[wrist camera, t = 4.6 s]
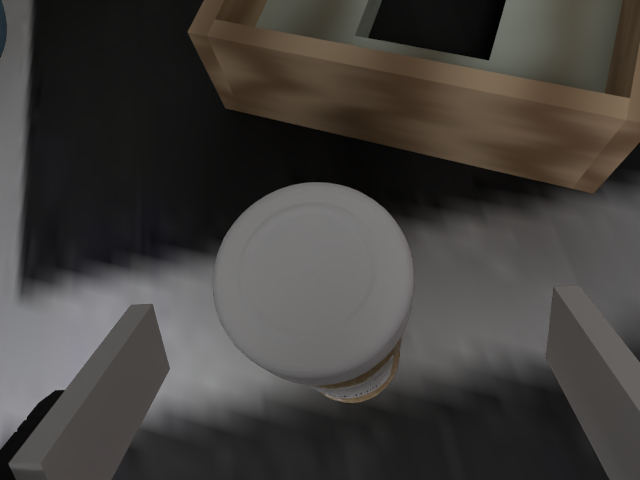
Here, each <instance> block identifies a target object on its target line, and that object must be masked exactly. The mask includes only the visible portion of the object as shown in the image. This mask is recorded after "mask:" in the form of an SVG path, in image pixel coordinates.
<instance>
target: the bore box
mask: <svg viewBox="0 0 640 480" xmlns="http://www.w3.org/2000/svg"><path fill="white" fill-rule="evenodd" d="M381 2H382V0H204V1H203V3H202V5H201V7H200V9H199V11H198V13H197V15H196V17H195V19H194V21H193V23H192V25H191V27H190V28H189V30H188V34H189V36H190V38H191V40H192V42H193V44H194V46H195V48H196V50H197V52H198V54H199V56H200V58H201V60H202V62H203V64H204V66H205V68H206V70H207V72H208V74H209V76H210V78H211V80H212V82H213V84H214V86H215V88H216V90H217V92H218V94H219V96H220V98H221V100H222V102H223V104H224V106H225V108H226V109H231V110H235V111H239V112H244V113H248V114H252V115H257V116H261V117H265V118H270V119H274V120H278V121H282V122H287V123H291V124H295V125H300V126H304V127H308V128H313V129H317V130H321V131H326V132H330V133H334V134H339V135H343V136H347V137H351V138H356V139H360V140H364V141H369V142H373V143H377V144H382V145H386V146H390V147H395V148H399V149H403V150H408V151H412V152H416V153H420V154H425V155H429V156H433V157H438V158H442V159H446V160H451V161H455V162H459V163H464V164H468V165H472V166H476V167H481V168H485V169H489V170H494V171H498V172H502V173H507V174H511V175H515V176H520V177H524V178H528V179H533V180H537V181H541V182H545V183H550V184H554V185H558V186H563V187H567V188H571V189H576V190H580V191H584V192H589V193H594V192H595V191H596V190H597V189H598V188H599V187H600V186H601V185H602V183H603V182H604V181H605V180H606V179H607V178H608V177H609V176H610V174H611V173H612V172H613V171H614V170H615V169H616V168H617V167H618V166H619V164H620V163H621V162H622V161H623V160H624V159H625V158H626V157H627V156H628V154H629V153H630V152H631V151H632V150H633V149H634V148H635V147H636V146H637V144H638V143H639V142H640V0H506V2H505V6H504V9H503V13H502V16H501V20H500V23H499V27H498V30H497V34H496V38H495V41H494V45H493V48H492V52H491V55H490V59H489V60H483V59H478V58H472V57H467V56H462V55H456V54H451V53H445V52H440V51H435V50H429V49H424V48H418V47H413V46H408V45H402V44H397V43H392V42H386V41H381V40H375V39H370V38H368V36H369V34H370V31H371V28H372V26H373V23H374V20H375V18H376V15H377V12H378V10H379V7H380V5H381Z"/></svg>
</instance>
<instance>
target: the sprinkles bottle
mask: <svg viewBox="0 0 640 480" xmlns="http://www.w3.org/2000/svg"><path fill="white" fill-rule="evenodd" d="M413 291H414V267H413V261H412V256H411V252H410V249H409V245H408V243H407V240H406V238H405V236H404V234H403V232H402V230H401V229H400V227H399V226H398V224H397V222H396V221H395V220H394V219H393V217H392V216H391V215H390V214H389V213H388V212H387V211H386V210H385V209H384V208H383V207H382V206H381V205H380V204H378V203H377V202H376V201H375V200H373V199H372V198H370V197H368V196H367V195H365V194H363V193H361V192H359V191H357V190H354V189H352V188H350V187H346V186H343V185H338V184H332V183H321V182H310V183H301V184H296V185H292V186H288V187H284V188H282V189H279V190H276V191H274V192H272V193H270V194H268V195H266V196H264V197H263V198H261V199H260V200H258V201H257V202H255V203H254V204H252V205H251V206H250V207H249V208H247V209H246V210H245V211H244V212H243V213H242V214H241V215H240V216H239V217H238V219H237V220H236V221H235V222H234V224H233V225H232V226H231V228H230V229H229V231H228V232H227V234H226V235H225V237H224V239H223V242H222V244H221V246H220V249H219V251H218V254H217V257H216V261H215V265H214V271H213V296H214V302H215V307H216V310H217V313H218V316H219V319H220V321H221V324H222V326H223V328H224V329H225V331H226V333H227V334H228V336H229V337H230V339H231V340H232V341H233V343H234V344H235V346H236V347H237V348H238V349H239V350H240V351H241V352H242V353H243V354H245V355H246V356H247V357H248V358H249V359H251V360H252V361H253V362H255V363H256V364H258V365H259V366H261V367H262V368H264V369H265V370H267V371H269V372H271V373H273V374H275V375H277V376H279V377H281V378H283V379H286V380H289V381H292V382H296V383H300V384H305V385H307V386H309V387H311V388H313V389H315V390H317V391H319V392H320V393H322V394H323V395H325V396H326V397H328V398H330V399H332V400H335V401H341V402H345V403H347V402H349V403H358V402H363V401H365V400H368V399H371V398H373V397H375V396H376V395H378V394H379V393H380V392H381V391H382V390H383V389H385V388H386V387H387V386H388V385H389V383H390V382H391V380H392V379H393V377H394V375H395V373H396V371H397V368H398V362H399V356H400V347H401V342H402V334H403V332H404V329H405V327H406V325H407V322H408V319H409V315H410V312H411V307H412V301H413Z"/></svg>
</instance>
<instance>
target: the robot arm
mask: <svg viewBox="0 0 640 480" xmlns="http://www.w3.org/2000/svg"><path fill="white" fill-rule="evenodd" d="M6 36H7V23H6V16H5V11H4V7H3V3H2V0H0V57H1V55H2V53H3V50H4V46H5V42H6ZM546 359H547V361H548V363H549V365H550V367H551V369H552V371H553V373H554V374H555V376H556V378H557V380H558V382H559V384H560V386H561V388H562V390H563V392H564V394H565V395H566V397H567V399H568V401H569V403H570V405H571V407H572V409H573V411H574V413H575V414H576V416H577V418H578V420H579V422H580V424H581V426H582V428H583V430H584V432H585V433H586V435H587V437H588V439H589V441H590V443H591V445H592V447H593V449H594V451H595V452H596V454H597V456H598V458H599V460H600V462H601V464H602V466H603V468H604V470H605V471H606V473H607V475H608V477H609V479H610V480H640V362H639V361H638V360H637V358H636V357H635V356H634V355H633V353H632V352H631V351H630V350H629V348H628V347H627V346H626V344H625V343H624V342H623V341H622V339H621V338H620V337H619V336H618V334H617V333H616V332H615V330H614V329H613V328H612V327H611V325H610V324H609V323H608V321H607V320H606V319H605V318H604V316H603V315H602V314H601V313H600V311H599V310H598V309H597V307H596V306H595V305H594V304H593V302H592V301H591V300H590V298H589V297H588V296H587V295H586V293H585V292H584V291H583V290H582V288H581V287H580V286H579V285H577V286H554V288H553V297H552V306H551V315H550V324H549V333H548V342H547V351H546ZM169 370H170V367H169V363H168V360H167V356H166V352H165V349H164V345H163V341H162V337H161V334H160V330H159V326H158V323H157V319H156V315H155V312H154V308H153V304H140V305H131V306H130V307H129V308H128V309H127V311H126V312H125V313H124V315H123V316H122V317H121V319H120V320H119V321H118V322H117V324H116V325H115V326H114V328H113V329H112V330H111V331H110V333H109V334H108V335H107V337H106V338H105V339H104V341H103V342H102V343H101V344H100V346H99V347H98V348H97V350H96V351H95V352H94V353H93V355H92V356H91V357H90V359H89V360H88V361H87V363H86V364H85V365H84V366H83V368H82V369H81V370H80V372H79V373H78V374H77V375H76V377H75V378H74V379H73V381H72V382H71V383H70V385H69V386H68V387H67V388H66V390H55V391H54V392H53V393H51V394H50V395H49V396H47V397H46V398H45V399H43V400H42V401H41V402H39V403H38V404H37V406H36V407H35V408H34V409H33V410H32V412H31V413H30V414H29V415H28V417H27V420H24V421H23V423H22V424H21V425H20V426H19V428H18V429H17V432H15V433H14V434H13V435H12V436H11V437H10V439H9V440H8V441H7V442H6V444H5V445H4V446H3V447H2V448H1V450H0V480H111V479H112V478H113V476H114V474H115V472H116V470H117V468H118V466H119V464H120V462H121V461H122V459H123V457H124V455H125V453H126V451H127V449H128V447H129V445H130V443H131V442H132V440H133V438H134V436H135V434H136V432H137V430H138V428H139V426H140V425H141V423H142V421H143V419H144V417H145V415H146V413H147V411H148V409H149V408H150V406H151V404H152V402H153V400H154V398H155V396H156V394H157V392H158V391H159V389H160V387H161V385H162V383H163V381H164V379H165V377H166V375H167V373H168V372H169Z"/></svg>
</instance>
